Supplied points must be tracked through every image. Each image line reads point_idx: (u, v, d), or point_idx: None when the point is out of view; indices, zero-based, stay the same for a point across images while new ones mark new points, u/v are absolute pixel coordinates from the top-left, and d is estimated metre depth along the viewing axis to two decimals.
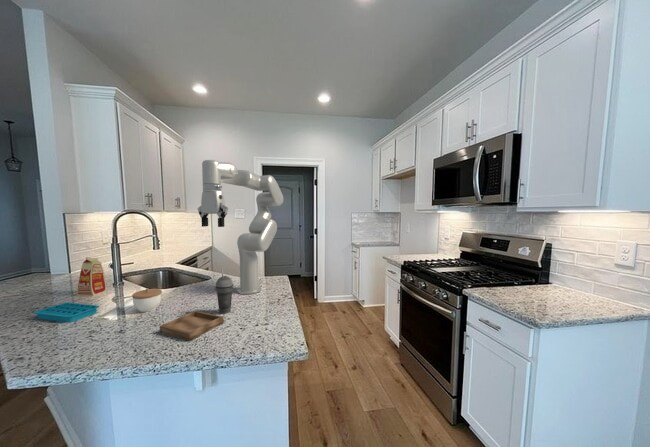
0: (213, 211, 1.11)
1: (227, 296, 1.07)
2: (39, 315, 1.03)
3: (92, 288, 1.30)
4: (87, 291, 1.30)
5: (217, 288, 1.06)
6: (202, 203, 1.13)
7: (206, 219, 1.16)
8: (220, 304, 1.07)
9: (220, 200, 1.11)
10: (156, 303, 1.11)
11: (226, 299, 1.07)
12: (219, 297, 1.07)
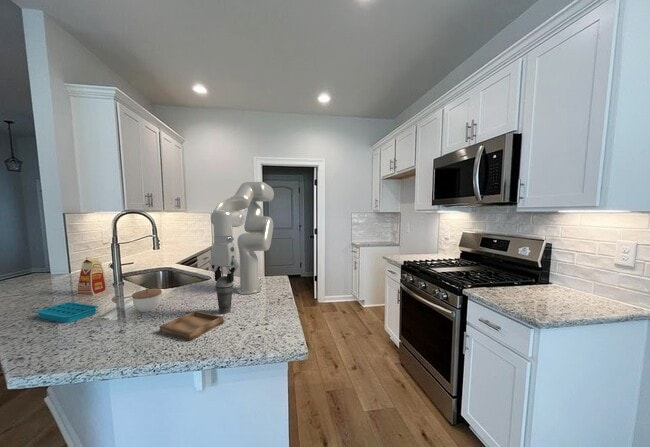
0: (225, 265, 1.06)
1: (227, 296, 1.07)
2: (40, 314, 1.04)
3: (92, 288, 1.30)
4: (87, 291, 1.30)
5: (217, 288, 1.06)
6: (213, 255, 1.08)
7: (219, 273, 1.10)
8: (220, 304, 1.07)
9: (232, 253, 1.06)
10: (156, 303, 1.11)
11: (226, 299, 1.07)
12: (219, 297, 1.07)
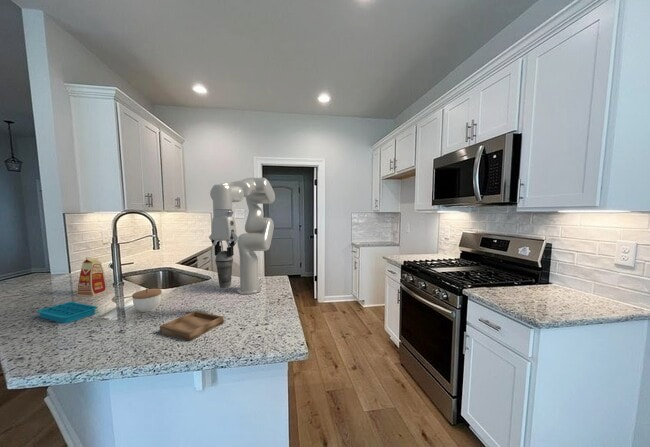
0: (224, 238, 1.05)
1: (227, 270, 1.07)
2: (41, 314, 1.04)
3: (92, 288, 1.30)
4: (87, 291, 1.30)
5: (217, 262, 1.06)
6: (212, 229, 1.07)
7: (219, 247, 1.10)
8: (220, 278, 1.07)
9: (232, 226, 1.06)
10: (156, 303, 1.11)
11: (226, 273, 1.07)
12: (219, 271, 1.07)
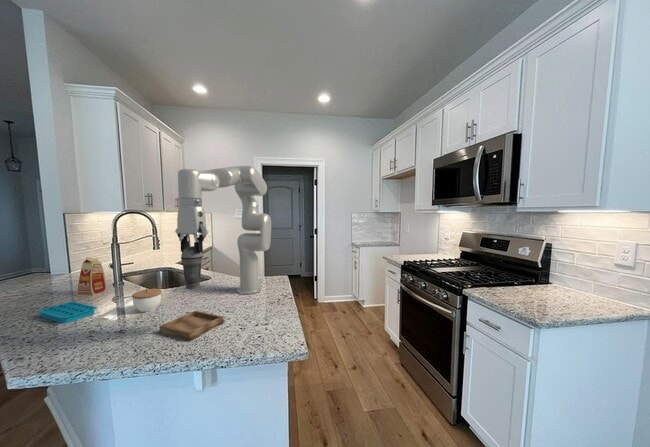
0: (191, 232, 0.90)
1: (195, 268, 0.92)
2: (42, 314, 1.04)
3: (92, 288, 1.30)
4: (87, 291, 1.30)
5: (182, 259, 0.91)
6: (178, 221, 0.93)
7: (187, 243, 0.95)
8: (186, 278, 0.92)
9: (200, 218, 0.91)
10: (156, 303, 1.11)
11: (193, 272, 0.92)
12: (185, 270, 0.91)
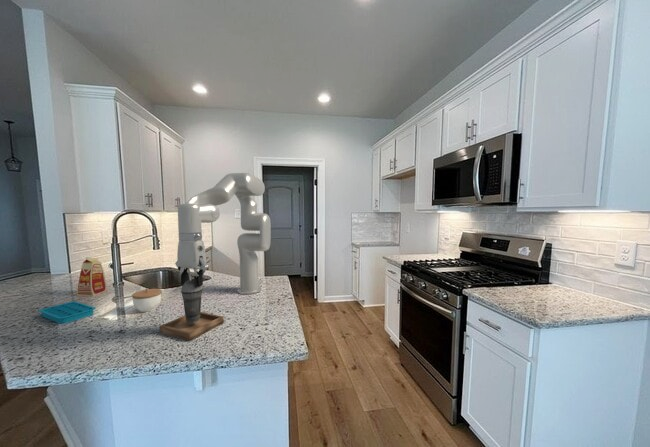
0: (191, 266, 0.91)
1: (195, 302, 0.92)
2: (43, 313, 1.05)
3: (92, 288, 1.30)
4: (87, 291, 1.30)
5: (183, 293, 0.91)
6: (178, 255, 0.93)
7: (187, 275, 0.96)
8: (186, 312, 0.92)
9: (200, 252, 0.91)
10: (156, 303, 1.11)
11: (193, 306, 0.92)
12: (185, 304, 0.92)
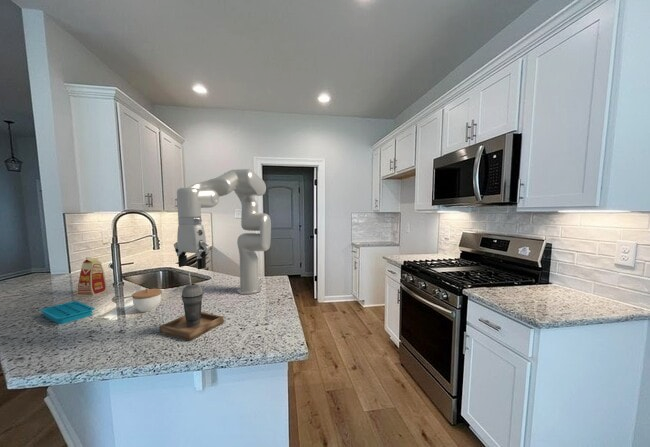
0: (191, 250, 0.91)
1: (195, 306, 0.93)
2: (44, 313, 1.06)
3: (92, 288, 1.30)
4: (87, 291, 1.30)
5: (183, 298, 0.92)
6: (178, 240, 0.93)
7: (184, 257, 0.96)
8: (187, 316, 0.92)
9: (200, 236, 0.91)
10: (156, 303, 1.11)
11: (194, 310, 0.92)
12: (185, 308, 0.92)
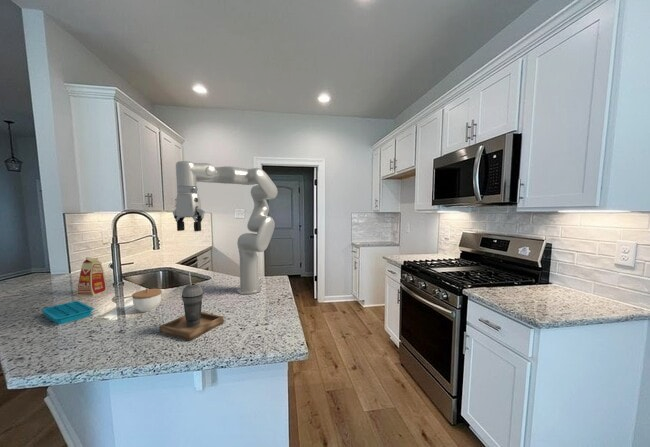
0: (188, 215, 1.06)
1: (195, 306, 0.93)
2: (45, 312, 1.06)
3: (92, 288, 1.30)
4: (87, 291, 1.30)
5: (183, 298, 0.92)
6: (177, 206, 1.07)
7: (182, 223, 1.11)
8: (187, 316, 0.92)
9: (196, 203, 1.06)
10: (156, 303, 1.11)
11: (194, 310, 0.93)
12: (185, 308, 0.92)
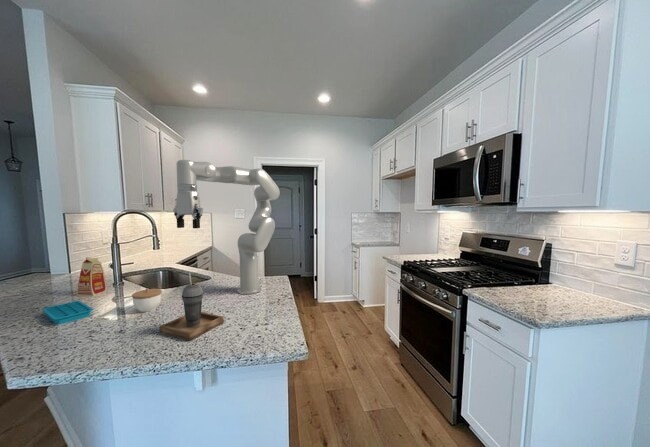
0: (188, 212, 1.08)
1: (195, 306, 0.93)
2: None
3: (92, 288, 1.30)
4: (87, 291, 1.30)
5: (183, 298, 0.92)
6: (177, 204, 1.10)
7: (182, 220, 1.14)
8: (187, 316, 0.92)
9: (195, 201, 1.09)
10: (156, 303, 1.11)
11: (194, 310, 0.93)
12: (186, 308, 0.92)
